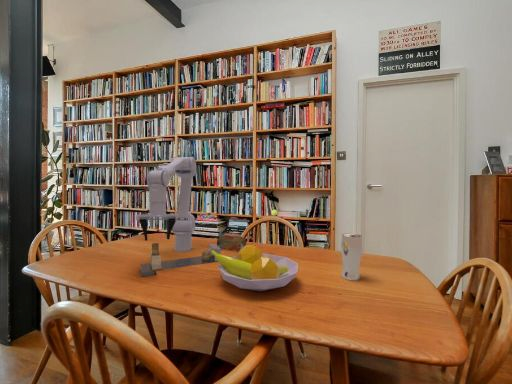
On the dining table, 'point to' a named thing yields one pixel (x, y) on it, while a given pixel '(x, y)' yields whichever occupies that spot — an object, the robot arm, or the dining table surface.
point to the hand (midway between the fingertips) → (157, 239)
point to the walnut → (206, 255)
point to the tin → (231, 242)
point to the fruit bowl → (256, 269)
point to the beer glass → (351, 255)
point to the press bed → (180, 262)
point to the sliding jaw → (155, 257)
